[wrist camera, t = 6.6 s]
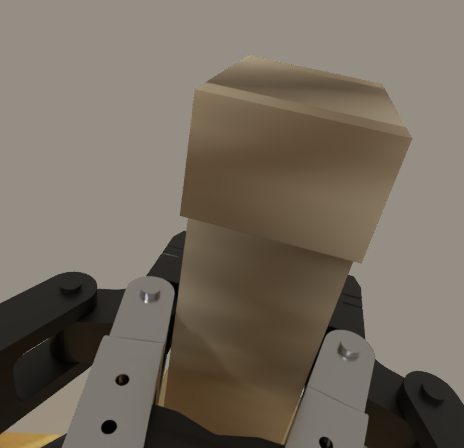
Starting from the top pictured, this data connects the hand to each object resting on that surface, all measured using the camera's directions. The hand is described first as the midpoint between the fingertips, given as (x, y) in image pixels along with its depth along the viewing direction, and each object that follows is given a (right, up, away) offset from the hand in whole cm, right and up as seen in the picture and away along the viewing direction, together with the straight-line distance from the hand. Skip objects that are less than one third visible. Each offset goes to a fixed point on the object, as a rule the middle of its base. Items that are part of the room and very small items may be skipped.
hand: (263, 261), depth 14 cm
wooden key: (-2, -9, +2) cm, 9 cm away
